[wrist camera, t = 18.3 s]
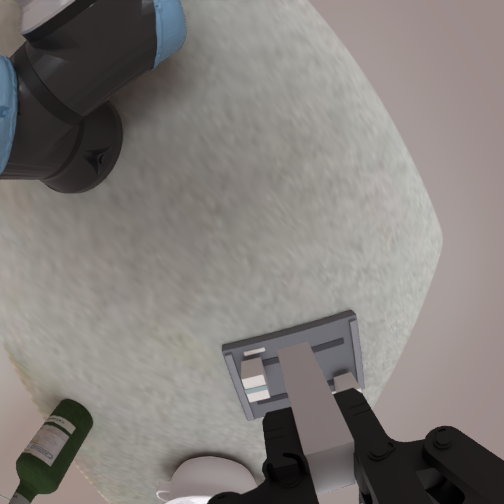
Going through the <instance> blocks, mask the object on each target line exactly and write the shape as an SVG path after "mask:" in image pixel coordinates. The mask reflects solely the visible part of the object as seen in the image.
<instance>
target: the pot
mask: <svg viewBox="0 0 504 504" xmlns="http://www.w3.org/2000/svg"><path fill="white" fill-rule="evenodd" d="M256 487H257V485H256V482H255V480H254V478H253V476H252V475H251V473H250V472H249V470H248V469H247V468H245V467H244V466H243V465H241V464H239V463H237V462H234V461H232V460H228V459H224V458H219V457H213V456H206V457H198V458H193V459H189V460H187V461H185V462H184V463H182V464H181V465H180V467H179V468H178V469H177V470H176V472H175V473H174V474H173V476H172V479H171V481H168V482H160V483H159V484H158V486H157V492H156V494H157V496H158V498H160V499H162V500H163V501H166V502H165V503H164V504H207V502H208V501H209V499H210V498H212V497H213V496H214V495H216V494H219V493H222V492H229V491H232V492H236V493H239V494H243V493H245V492H248V491H250V490H253V489H255V488H256Z"/></svg>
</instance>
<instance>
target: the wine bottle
mask: <svg viewBox="0 0 504 504" xmlns="http://www.w3.org/2000/svg"><path fill="white" fill-rule="evenodd" d="M92 424H93V422H92V418H91V416H90V414H89V412H88V411H87V410H86V409H85V408H84V407H83V406H82V405H80V404H79V403H77V402H75V401H72V400H64V401H61V402H60V404H59V405H58V406H57V407H56V409H55V410H54V411H53V413H52V414H51V415H50V416H49V418H48V419H47V420H46V422H45V423H44V424H43V426H42V427H41V428H40V430H39V431H38V432H37V434H36V435H35V436H34V438H33V439H32V440H31V441H30V443H29V444H28V446H27V447H26V449H25V450H24V451H23V452H22V454H21V455H20V457H19V458H18V460H17V461H16V470H17V473H18V476H19V478H20V484H19V486H18V488H17V489H16V491H15V493H14V495H13V497H12V498H11V500H10V502H9V504H30V503H31V502H32V500H33V499H34V497H35V496H36V495H37V494H50V493H52V492H54V491H56V490H57V488H58V486H59V484H60V483H61V481H62V479H63V477H64V475H65V473H66V472H67V470H68V468H69V466H70V464H71V463H72V461H73V459H74V457H75V455H76V454H77V452H78V450H79V448H80V447H81V445H82V443H83V441H84V440H85V438H86V436H87V434H88V433H89V431H90V429H91V427H92Z"/></svg>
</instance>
